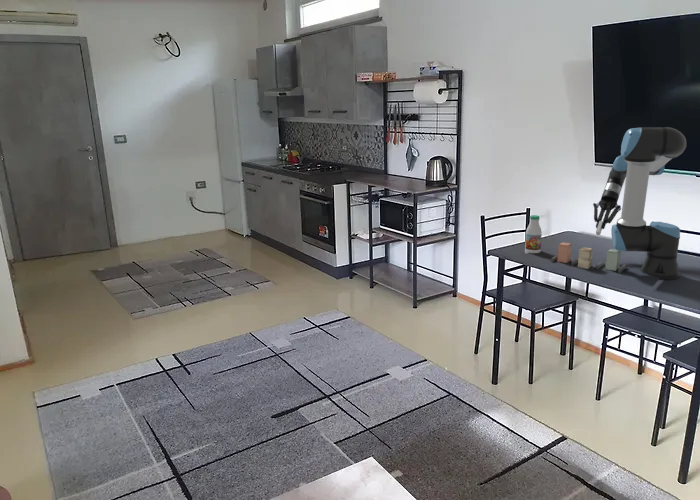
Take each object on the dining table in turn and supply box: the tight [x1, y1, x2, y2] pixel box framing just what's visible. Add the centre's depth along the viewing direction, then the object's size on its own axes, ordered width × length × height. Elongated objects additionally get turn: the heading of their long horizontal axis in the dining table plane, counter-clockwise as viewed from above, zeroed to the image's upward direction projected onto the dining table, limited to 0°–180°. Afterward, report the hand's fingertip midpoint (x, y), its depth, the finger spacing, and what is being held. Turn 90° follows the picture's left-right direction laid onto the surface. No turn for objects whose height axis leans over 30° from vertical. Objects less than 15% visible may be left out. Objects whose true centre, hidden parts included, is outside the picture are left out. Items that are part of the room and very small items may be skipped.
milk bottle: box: [524, 214, 542, 255], centre depth 278 cm, size 8×8×20 cm
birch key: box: [577, 247, 594, 270], centre depth 251 cm, size 5×4×9 cm
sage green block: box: [605, 248, 622, 272], centre depth 247 cm, size 5×4×9 cm
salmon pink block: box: [556, 241, 573, 264], centre depth 261 cm, size 5×4×9 cm
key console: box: [550, 254, 627, 274], centre depth 255 cm, size 10×31×3 cm, turn 49°
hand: (597, 233), depth 261 cm, fingers closed
